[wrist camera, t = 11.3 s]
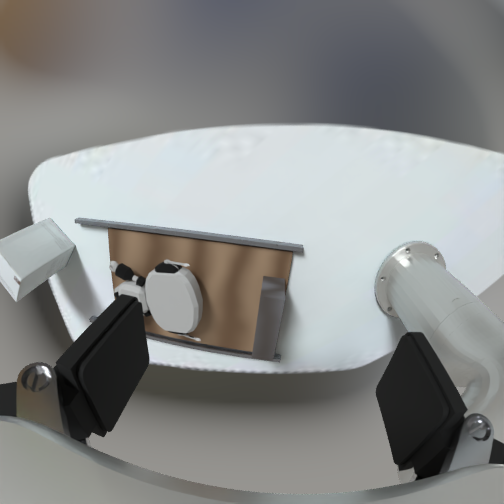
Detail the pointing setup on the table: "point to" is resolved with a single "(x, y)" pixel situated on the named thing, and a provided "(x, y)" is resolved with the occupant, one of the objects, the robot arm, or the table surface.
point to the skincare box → (32, 257)
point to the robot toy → (164, 295)
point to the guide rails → (201, 236)
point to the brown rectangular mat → (216, 285)
